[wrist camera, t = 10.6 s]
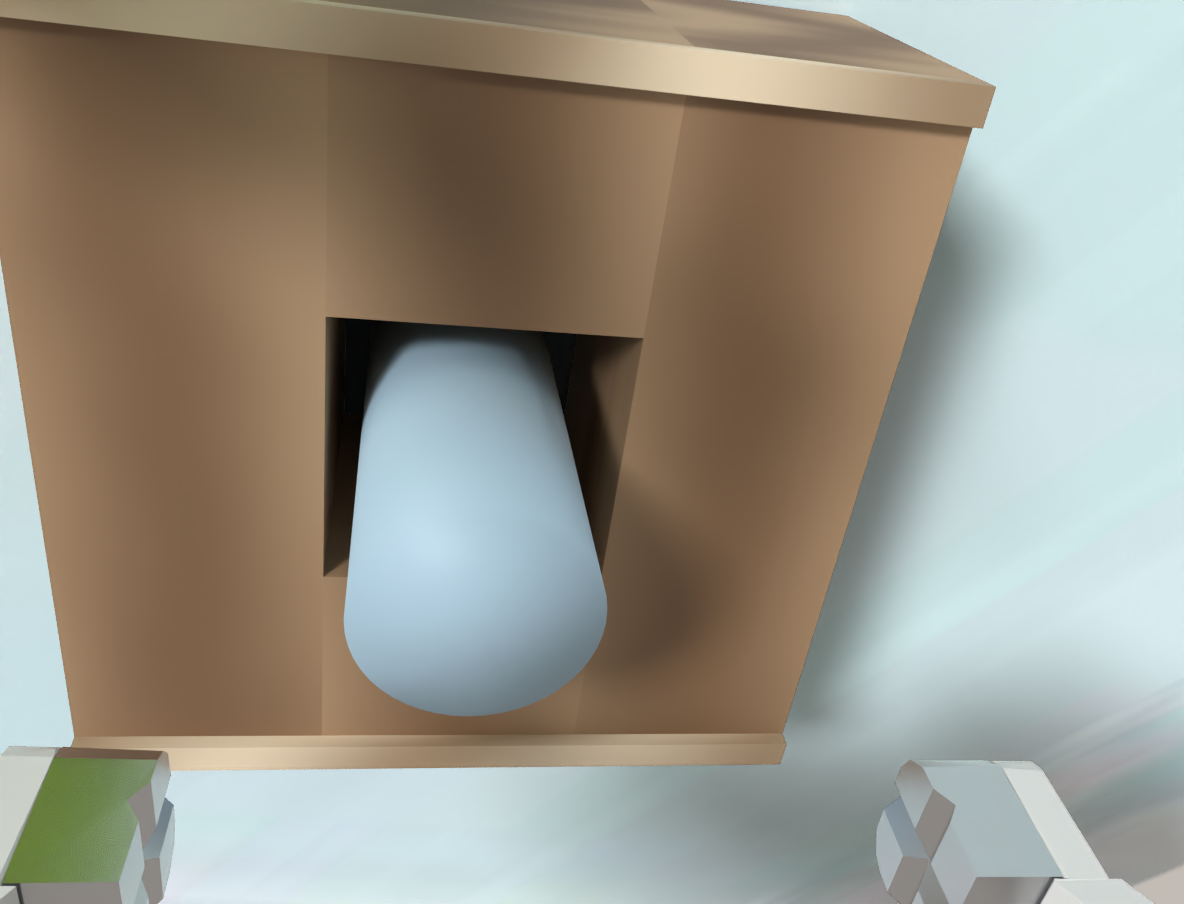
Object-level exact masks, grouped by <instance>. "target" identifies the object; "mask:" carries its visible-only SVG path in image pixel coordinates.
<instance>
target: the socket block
mask: <svg viewBox="0 0 1184 904" xmlns="http://www.w3.org/2000/svg"><path fill="white" fill-rule="evenodd" d="M995 89H996V87H995V86H993V85H991V84H989V83H987V82H984V81H982V80H980V79H978V78H976V77H974V76H972V75H970V74H968V73H966V72H964V71H961V70H959V69H957V68H955V67H953V66H951V65H949V64H947V63H945V62H943V61H941V60H938V59H936V58H934V57H932V56H930V55H928V54H926V53H924V52H922V51H920V50H918V49H915V48H913V47H911V46H909V45H907V44H905V43H903V42H901V41H899V40H897V39H895V38H892V37H890V36H888V35H886V34H884V33H882V32H880V31H878V30H876V29H874V28H872V27H869V26H867V25H865V24H863V23H861V22H859V21H857V20H855V19H853V18H851V17H849V16H843V15H836V14H828V13H820V12H813V11H805V10H798V9H790V8H783V7H775V6H768V5H760V4H753V3H745V2H737V1H730V0H0V259H1V265H2V272H3V278H4V285H5V291H6V298H7V304H8V311H9V317H10V324H11V330H12V337H13V343H14V349H15V356H16V362H17V369H18V375H19V382H20V388H21V395H22V401H23V408H24V414H25V420H26V427H27V433H28V440H29V446H30V453H31V459H32V466H33V472H34V479H35V485H36V492H37V498H38V504H39V511H40V517H41V524H42V530H43V537H44V543H45V550H46V556H47V563H48V569H49V575H50V582H51V588H52V595H53V601H54V608H55V614H56V621H57V627H58V634H59V640H60V646H61V653H62V659H63V666H64V672H65V679H66V685H67V692H68V698H69V705H70V711H71V718H72V724H73V730H74V739H73V742H72V745H71V747H75V748H101V749H127V750H154V751H165V752H167V753H168V757H169V765H170V771H184V770H279V769H374V768H470V767H565V766H660V765H756V764H780V763H781V760H782V756H783V753H784V750H785V747H786V742H785V739H784V737H783V734H782V733H783V730H784V726H785V723H786V720H787V717H788V714H789V710H790V707H791V704H792V701H793V698H794V695H795V691H796V688H797V685H798V682H799V679H800V675H801V672H802V669H803V666H804V663H805V660H806V656H807V653H808V650H809V647H810V644H811V640H812V637H813V634H814V631H815V628H816V625H817V621H818V618H819V615H820V612H821V609H822V605H823V602H824V599H825V596H826V593H827V589H828V586H829V583H830V580H831V577H832V574H833V570H834V567H835V564H836V561H837V558H838V554H839V551H840V548H841V545H842V542H843V539H844V535H845V532H846V529H847V526H848V523H849V519H850V516H851V513H852V510H853V507H854V504H855V500H856V497H857V494H858V491H859V488H860V484H861V481H862V478H863V475H864V472H865V469H866V465H867V462H868V459H869V456H870V453H871V449H872V446H873V443H874V440H875V437H876V433H877V430H878V427H879V424H880V421H881V418H882V414H883V411H884V408H885V405H886V402H887V398H888V395H889V392H890V389H891V386H892V383H893V379H894V376H895V373H896V370H897V367H898V363H899V360H900V357H901V354H902V351H903V348H904V344H905V341H906V338H907V335H908V332H909V328H910V325H911V322H912V319H913V316H914V312H915V309H916V306H917V303H918V300H919V297H920V293H921V290H922V287H923V284H924V281H925V277H926V274H927V271H928V268H929V265H930V262H931V258H932V255H933V252H934V249H935V246H936V242H937V239H938V236H939V233H940V230H941V227H942V223H943V220H944V217H945V214H946V211H947V207H948V204H949V201H950V198H951V195H952V191H953V188H954V185H955V182H956V179H957V176H958V172H959V169H960V166H961V163H962V160H963V156H964V153H965V150H966V147H967V144H968V141H969V137H970V134H971V131H972V128H973V127H974V128H982V129H983V126H984V123H985V120H986V117H987V114H988V111H989V108H990V105H991V101H992V98H993V95H994V92H995ZM346 318H354V319H369V320H383V321H398V322H413V323H427V324H442V325H457V326H471V327H486V328H501V329H515V330H530V331H545V332H559V333H574V334H576V338H575V345H574V352H573V359H572V366H571V373H570V380H569V388H568V395H567V402H566V409H565V416H564V419H565V424H566V428H567V432H568V436H569V440H570V445H571V449H572V453H573V457H574V461H575V466H576V470H577V474H578V478H579V482H580V487H581V491H582V495H583V499H584V504H585V508H586V512H587V516H588V520H589V525H590V529H591V533H592V537H593V541H594V546H595V550H596V554H597V558H598V562H599V567H600V571H601V575H602V579H603V584H604V588H605V592H606V596H607V619H606V625H605V629H604V633H603V636H602V638H601V641H600V643H599V645H598V647H597V649H596V651H595V652H594V654H593V656H592V657H591V659H590V660H589V661H588V663H587V664H586V665H585V666H584V668H583V669H582V670H581V671H580V672H579V673H578V674H577V675H576V676H575V677H574V678H573V679H572V680H571V681H569V682H568V683H567V684H565V685H564V686H563V687H561V688H560V689H559V690H557V691H555V692H554V693H552V694H550V695H549V696H547V697H545V698H543V699H541V700H539V701H537V702H535V703H532V704H530V705H527V706H524V707H521V708H518V709H515V710H511V711H507V712H503V713H498V714H491V715H484V716H451V715H444V714H437V713H433V712H429V711H425V710H421V709H418V708H415V707H413V706H410V705H407V704H405V703H403V702H401V701H399V700H397V699H395V698H393V697H391V696H390V695H388V694H387V693H385V692H384V691H382V690H381V689H379V688H378V687H377V686H376V685H375V684H374V683H373V682H371V681H370V680H369V679H368V678H367V676H366V675H365V674H364V673H363V672H362V671H361V670H360V668H359V666H358V665H357V663H356V662H355V660H354V659H353V657H352V654H351V652H350V650H349V647H348V645H347V641H346V637H345V632H344V610H345V599H346V589H347V578H348V568H349V557H350V547H351V536H352V526H353V515H354V505H355V494H356V484H357V473H358V462H359V452H360V441H361V431H362V420H363V413H346V412H344V408H345V358H346Z"/></svg>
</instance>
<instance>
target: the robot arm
mask: <svg viewBox="0 0 1184 904" xmlns="http://www.w3.org/2000/svg"><path fill="white" fill-rule="evenodd" d="M170 777H171V772H170V765H169V757H168V753H167V752H165V751H154V750H127V749H101V748H75V747H62V748H58V747H27V746H9V747H8V748H7V749H6V750H5V751H4V752H3V753H2V754H1V755H0V904H158V903H159V902H160V901H161V900H162V899H163V897H164V893H165V889H166V885H167V881H168V877H169V873H170V867H171V861H172V854H173V847H174V833H175V817H174V805H173V804H172V803H171V802H170V801H168V800H167V799H166V798H165V794H166V791H167V787H168V784H169V780H170ZM895 784H896V787H897V789H898V791H899V794H900V797H899V798H898V799H896V800H895V801H894V802H892V803H891V804H890V805H888V806H887V807H886V808H884V809H883V812H882V815H881V818H880V821H879V823H878V826H877V829H876V856H877V861H878V866H879V871H880V874H881V877H882V879H883V882H884V885H885V887H886V890H887V892H888V893H889V894H890V895H891V896H892V897H893V898H895V899H896V900H897V901H898V902H899V903H900V904H1155V903H1153V902H1152V901H1151V900H1149V899H1148V898H1147V897H1145V896H1144V895H1143V894H1141V893H1140V892H1139V891H1137V890H1136V889H1134V888H1133V887H1132V886H1130V885H1129V884H1128V883H1126V882H1125V881H1124V880H1122V879H1112V878H1109V877H1108V875H1107V874H1106V872H1105V871H1104V869H1103V867H1102V866H1101V864H1100V862H1099V861H1098V859H1097V858H1096V856H1095V854H1094V853H1093V851H1092V850H1091V848H1090V846H1089V845H1088V843H1087V841H1086V840H1085V838H1084V837H1083V835H1082V833H1081V832H1080V830H1079V828H1078V827H1077V825H1076V824H1075V822H1074V820H1073V819H1072V817H1071V815H1070V814H1069V812H1068V811H1067V809H1066V807H1065V806H1064V804H1063V803H1062V801H1061V799H1060V798H1059V796H1058V794H1057V793H1056V791H1055V790H1054V788H1053V786H1052V785H1051V783H1050V781H1049V780H1048V778H1047V777H1046V775H1045V773H1044V772H1043V770H1042V769H1041V768H1040V767H1039V766H1037V765H1036V764H1035V763H1034V762H1032V761H986V760H910V761H908V762H907V763H906V764H905V765H904V766H902V767H901V769H900V772H899V774H898V776H897V778H896V781H895Z"/></svg>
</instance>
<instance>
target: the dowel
mask: <svg viewBox="0 0 1184 904" xmlns="http://www.w3.org/2000/svg"><path fill="white" fill-rule="evenodd" d="M606 619H607V596H606V592H605V588H604V584H603V579H602V575H601V571H600V567H599V562H598V558H597V554H596V550H595V546H594V541H593V537H592V533H591V529H590V525H589V520H588V516H587V512H586V508H585V504H584V499H583V495H582V491H581V487H580V482H579V478H578V474H577V470H576V466H575V461H574V457H573V453H572V449H571V445H570V440H569V436H568V432H567V428H566V424H565V419H564V415H563V411H562V407H561V402H560V398H559V394H558V390H557V386H556V381H555V377H554V373H553V369H552V365H551V360H550V356H549V352H548V348H547V344H546V339H545V335H544V331H530V330H515V329H501V328H486V327H471V326H457V325H442V324H427V323H413V322H398V321H383V320H372V326H371V336H370V347H369V357H368V368H367V378H366V389H365V399H364V410H363V420H362V431H361V441H360V452H359V462H358V473H357V484H356V494H355V505H354V515H353V526H352V536H351V547H350V557H349V568H348V578H347V589H346V599H345V610H344V632H345V637H346V641H347V645H348V647H349V650H350V652H351V654H352V657H353V659H354V660H355V662H356V663H357V665H358V666H359V668H360V670H361V671H362V672H363V673H364V674H365V675H366V676H367V678H368V679H369V680H370V681H371V682H373V683H374V684H375V685H376V686H377V687H378V688H379V689H381V690H382V691H384V692H385V693H387V694H388V695H390V696H391V697H393V698H395V699H397V700H399V701H401V702H403V703H405V704H407V705H410V706H413V707H415V708H418V709H421V710H425V711H429V712H433V713H437V714H444V715H451V716H484V715H491V714H498V713H503V712H507V711H511V710H515V709H518V708H521V707H524V706H527V705H530V704H532V703H535V702H537V701H539V700H541V699H543V698H545V697H547V696H549V695H550V694H552V693H554V692H555V691H557V690H559V689H560V688H561V687H563V686H564V685H565V684H567V683H568V682H569V681H571V680H572V679H573V678H574V677H575V676H576V675H577V674H578V673H579V672H580V671H581V670H582V669H583V668H584V666H585V665H586V664H587V663H588V661H589V660H590V659H591V657H592V656H593V654H594V652H595V651H596V649H597V647H598V645H599V643H600V641H601V638H602V636H603V633H604V629H605V625H606Z"/></svg>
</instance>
